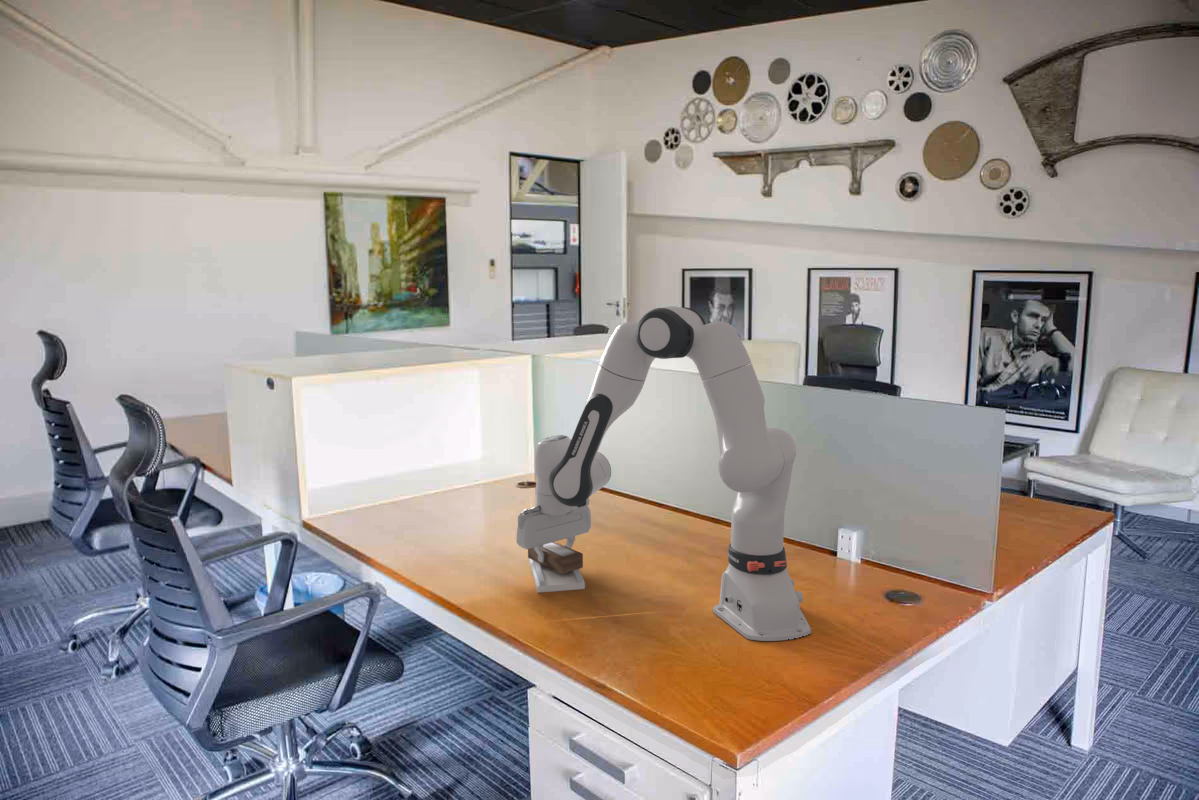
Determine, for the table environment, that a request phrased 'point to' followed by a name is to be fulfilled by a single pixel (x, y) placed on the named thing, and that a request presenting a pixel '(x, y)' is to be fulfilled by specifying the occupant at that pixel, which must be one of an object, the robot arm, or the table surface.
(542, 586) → the picture ledge
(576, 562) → the picture frame
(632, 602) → the table surface
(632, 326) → the robot arm
